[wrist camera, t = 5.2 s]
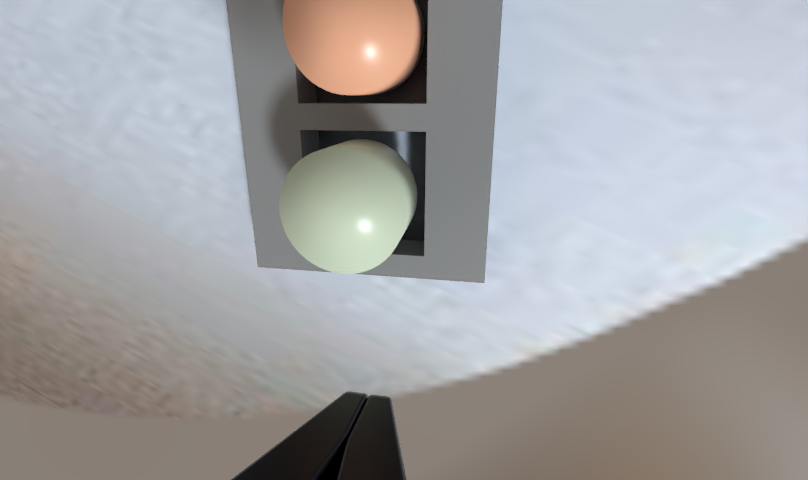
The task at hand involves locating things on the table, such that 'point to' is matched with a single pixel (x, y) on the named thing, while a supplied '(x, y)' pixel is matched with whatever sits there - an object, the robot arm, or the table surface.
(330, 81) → the terracotta button
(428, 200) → the button panel
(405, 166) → the sage button
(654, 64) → the table surface
